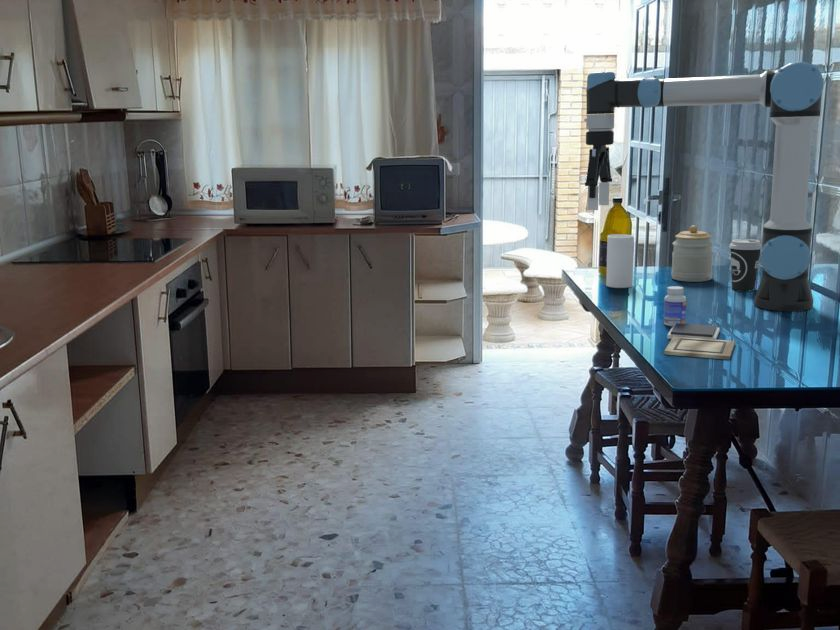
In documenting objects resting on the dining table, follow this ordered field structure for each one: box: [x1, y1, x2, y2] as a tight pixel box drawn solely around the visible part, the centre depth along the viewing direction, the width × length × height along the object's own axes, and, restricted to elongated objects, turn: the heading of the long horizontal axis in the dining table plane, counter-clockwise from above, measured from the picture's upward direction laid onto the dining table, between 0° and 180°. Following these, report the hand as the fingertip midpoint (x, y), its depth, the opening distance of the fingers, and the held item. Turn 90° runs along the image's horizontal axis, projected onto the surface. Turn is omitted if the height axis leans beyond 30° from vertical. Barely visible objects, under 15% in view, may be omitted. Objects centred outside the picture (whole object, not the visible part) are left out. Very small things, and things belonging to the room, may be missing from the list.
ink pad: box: [666, 323, 721, 340], centre depth 210 cm, size 11×11×2 cm
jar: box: [671, 225, 715, 283], centre depth 281 cm, size 13×13×18 cm
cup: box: [605, 233, 635, 289], centre depth 273 cm, size 8×8×16 cm
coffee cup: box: [728, 238, 762, 292], centre depth 262 cm, size 10×10×15 cm
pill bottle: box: [663, 285, 687, 327], centre depth 221 cm, size 5×5×10 cm
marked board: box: [663, 337, 736, 360], centre depth 198 cm, size 14×14×1 cm
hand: (598, 207), depth 241 cm, fingers open, 13 cm apart
